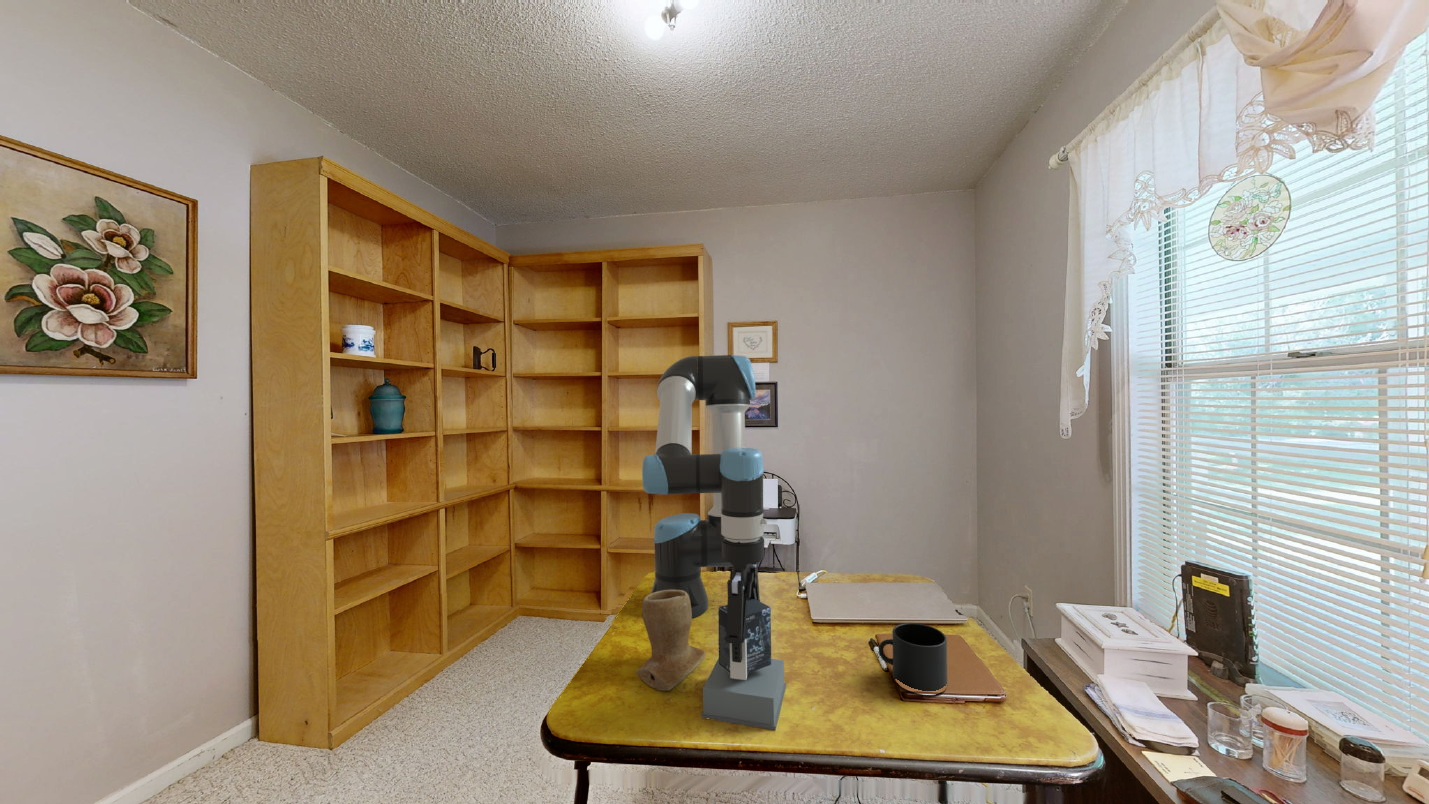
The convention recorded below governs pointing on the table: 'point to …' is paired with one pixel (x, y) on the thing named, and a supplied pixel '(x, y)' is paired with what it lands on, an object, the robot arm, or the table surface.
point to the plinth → (745, 696)
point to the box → (749, 636)
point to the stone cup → (668, 639)
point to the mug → (918, 656)
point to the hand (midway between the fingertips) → (745, 662)
